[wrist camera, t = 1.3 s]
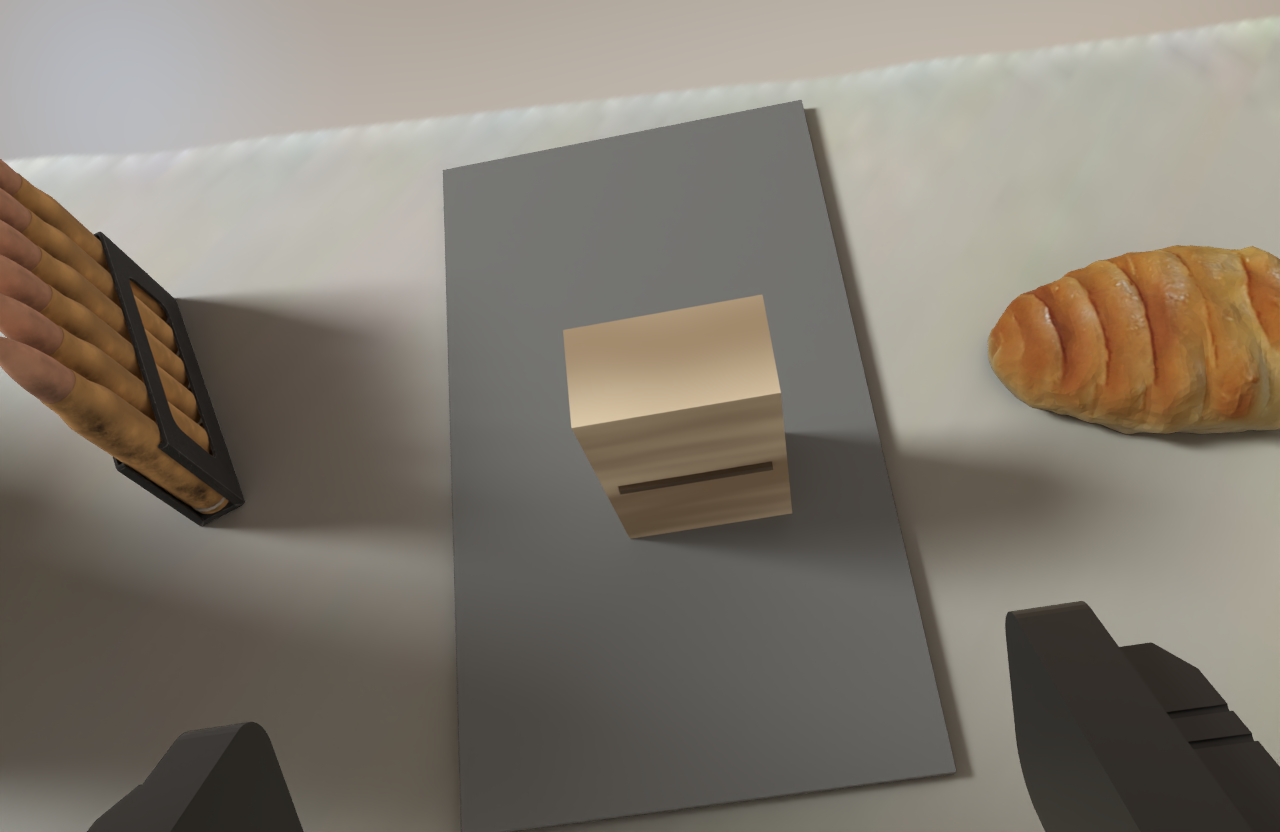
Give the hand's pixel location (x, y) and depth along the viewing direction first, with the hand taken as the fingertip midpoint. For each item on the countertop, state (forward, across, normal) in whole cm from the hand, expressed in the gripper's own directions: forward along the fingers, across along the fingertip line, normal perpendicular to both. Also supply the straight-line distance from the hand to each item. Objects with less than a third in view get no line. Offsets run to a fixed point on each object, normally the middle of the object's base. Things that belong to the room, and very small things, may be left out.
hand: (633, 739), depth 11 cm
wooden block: (+24, 0, +7) cm, 25 cm away
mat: (+26, +2, +5) cm, 27 cm away
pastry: (+26, -16, +6) cm, 31 cm away
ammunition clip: (+29, +20, +2) cm, 35 cm away
